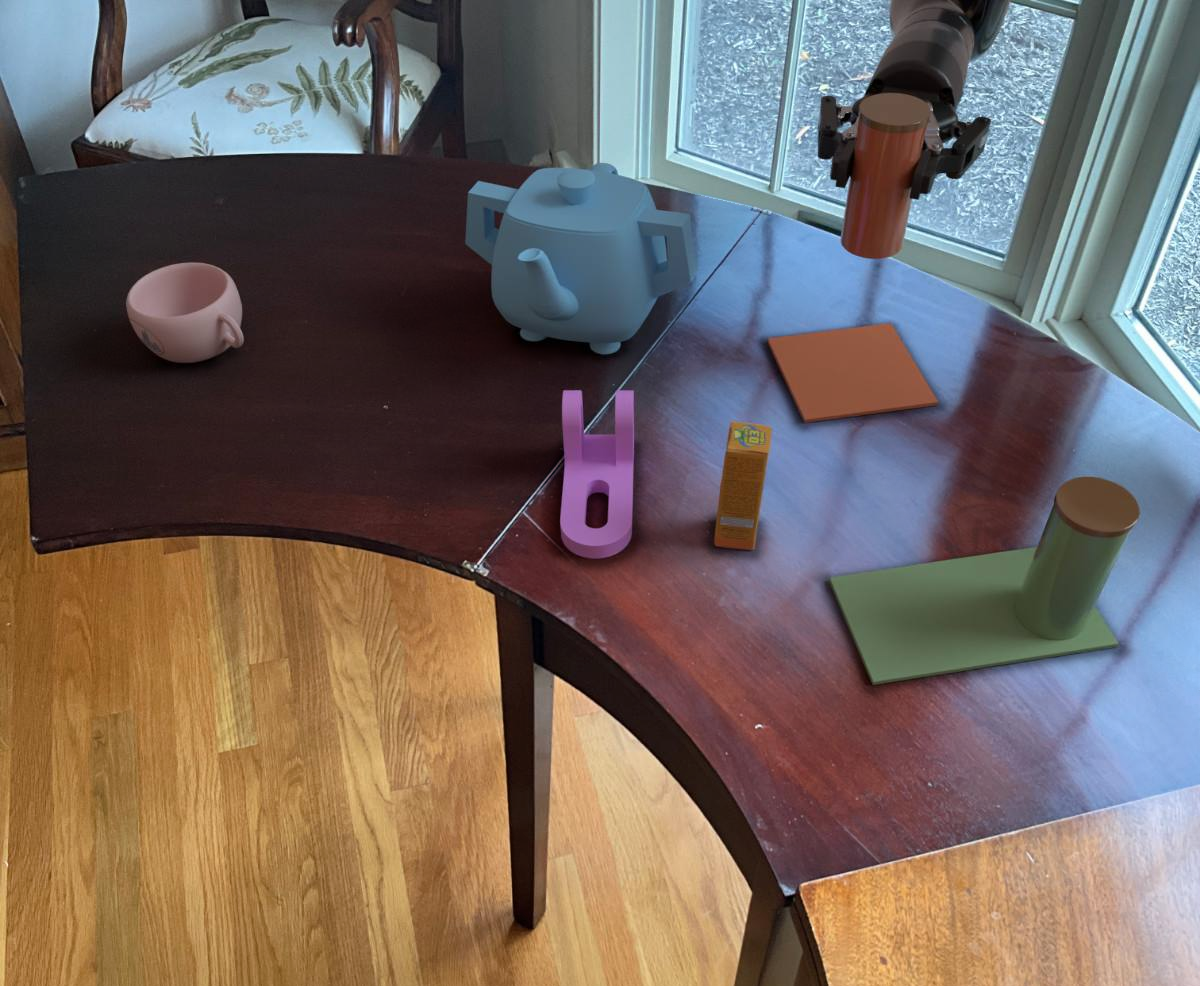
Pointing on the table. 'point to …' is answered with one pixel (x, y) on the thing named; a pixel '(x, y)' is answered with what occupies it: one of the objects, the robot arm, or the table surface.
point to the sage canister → (1075, 556)
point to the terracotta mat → (850, 372)
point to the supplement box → (742, 485)
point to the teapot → (579, 253)
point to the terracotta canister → (883, 173)
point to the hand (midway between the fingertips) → (878, 181)
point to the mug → (186, 312)
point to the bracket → (597, 477)
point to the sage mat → (949, 617)
